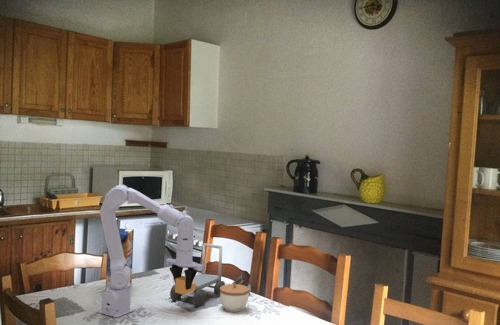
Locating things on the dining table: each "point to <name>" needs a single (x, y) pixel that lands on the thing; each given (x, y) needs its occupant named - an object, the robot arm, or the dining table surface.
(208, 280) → the trolley
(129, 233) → the juice carton
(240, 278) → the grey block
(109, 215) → the robot arm
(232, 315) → the dining table surface
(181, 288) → the block
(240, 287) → the lidded jar
